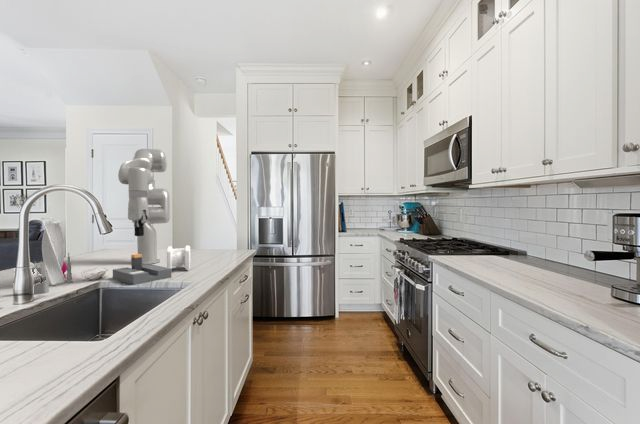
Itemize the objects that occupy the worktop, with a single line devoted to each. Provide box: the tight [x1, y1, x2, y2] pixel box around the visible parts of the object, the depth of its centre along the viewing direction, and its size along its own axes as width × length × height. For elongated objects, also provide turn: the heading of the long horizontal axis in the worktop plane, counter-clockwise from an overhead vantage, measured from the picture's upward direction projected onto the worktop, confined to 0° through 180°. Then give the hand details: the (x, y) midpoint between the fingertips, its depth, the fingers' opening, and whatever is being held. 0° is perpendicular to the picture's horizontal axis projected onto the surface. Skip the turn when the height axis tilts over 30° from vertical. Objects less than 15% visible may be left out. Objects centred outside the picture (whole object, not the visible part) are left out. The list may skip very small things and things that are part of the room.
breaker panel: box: [112, 264, 172, 286], centre depth 142 cm, size 20×16×4 cm
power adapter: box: [30, 260, 50, 295], centre depth 119 cm, size 3×5×12 cm, turn 108°
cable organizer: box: [166, 244, 192, 271], centre depth 161 cm, size 15×11×12 cm
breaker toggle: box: [130, 253, 143, 271], centre depth 145 cm, size 3×3×8 cm
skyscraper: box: [40, 216, 74, 287], centre depth 132 cm, size 8×8×28 cm
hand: (139, 235), depth 143 cm, fingers closed
